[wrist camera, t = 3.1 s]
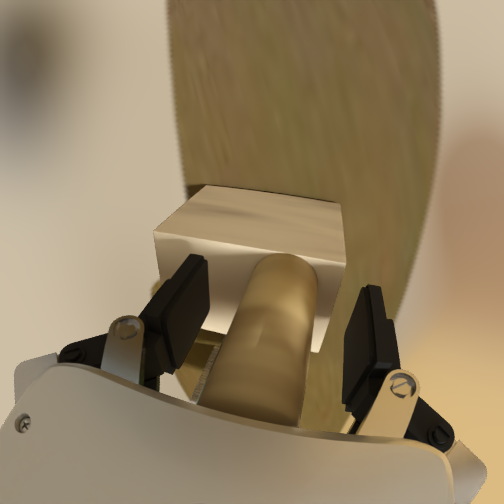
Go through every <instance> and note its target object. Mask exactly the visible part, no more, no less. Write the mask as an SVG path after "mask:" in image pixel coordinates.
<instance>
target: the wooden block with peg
mask: <svg viewBox="0 0 504 504" xmlns="http://www.w3.org/2000/svg"><path fill="white" fill-rule="evenodd" d="M153 233H154V241H155V248H156V255H157V261H158V268H159V274H160V280H161V285H163V283H164V282H165V281H166V280H167V279H171V277H172V276H173V275H174V273H175V272H176V271H177V270H178V268H179V267H180V266H181V264H182V263H183V262H184V261H185V259H186V258H187V257H188V256H189V254H191V253H192V254H197V255H203V256H204V259H206V260H207V261H208V275H209V294H210V310H209V313H208V315H207V317H206V319H205V321H204V323H203V325H202V327H201V328H202V329H206V330H210V331H214V332H218V333H222V334H226V337H225V339H224V342H223V344H222V346H221V349H220V351H219V353H218V356H217V358H216V360H215V363H214V365H213V368H212V370H211V372H210V375H209V377H208V379H207V382H206V384H205V386H204V389H203V391H202V393H201V396H200V398H199V400H198V403H197V405H199V406H202V407H206V408H209V409H213V410H216V411H220V412H224V413H228V414H232V415H236V416H240V417H244V418H248V419H253V420H257V421H262V422H267V423H272V424H277V425H283V426H289V427H295V428H299V424H300V418H301V413H302V407H303V400H304V394H305V388H306V381H307V374H308V367H309V360H310V352H311V351H312V352H319V350H320V347H321V344H322V341H323V338H324V335H325V332H326V329H327V326H328V323H329V320H330V317H331V314H332V311H333V307H334V304H335V301H336V298H337V294H338V291H339V287H340V284H341V280H342V277H343V273H344V270H345V266H346V254H345V243H344V233H343V223H342V214H341V206H340V204H338V203H332V202H326V201H320V200H314V199H308V198H302V197H295V196H289V195H282V194H275V193H267V192H260V191H252V190H244V189H236V188H227V187H218V186H209V185H206V186H205V187H204V188H202V189H201V190H200V191H199V192H198V193H196V194H195V195H194V196H193V197H192V198H190V199H189V200H188V201H187V202H186V203H184V204H183V205H182V206H181V207H180V208H179V209H177V210H176V211H175V212H174V213H173V214H172V215H171V216H169V217H168V218H167V219H166V220H165V221H164V222H163V223H161V224H160V225H159V226H158V227H157V228H156V229H155V230H154V231H153Z"/></svg>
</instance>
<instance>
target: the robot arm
mask: <svg viewBox="0 0 504 504" xmlns="http://www.w3.org/2000/svg"><path fill="white" fill-rule="evenodd" d="M209 310H210V294H209V275H208V261H207V260H206V259H204V256H203V255H197V254H192V253H191V254H189V256H188V257H187V258H186V259H185V261H184V262H183V263H182V264H181V266H180V267H179V268H178V270H177V271H176V272H175V273H174V275H173V276H172V277H171V279H167V280H166V281H165V282H164V283H163V285H162V286H161V287H160V288H159V290H158V291H157V292H156V294H155V295H154V296H153V298H152V299H151V300H150V302H149V303H148V304H147V306H146V307H145V308H144V310H143V311H142V312H141V313H140V315H139V316H138V317H136V316H132V315H126V316H122V317H119V318H117V319H116V320H114V321H113V322H112V324H111V325H110V327H109V331H108V333H106V334H103V335H99V336H96V337H92V338H89V339H85V340H81V341H78V342H74V343H71V344H69V345H67V346H65V347H64V348H63V349H62V350H61V352H60V354H59V355H57V353H52V354H48V355H45V356H42V357H38V358H34V359H30V360H27V361H24V362H21V363H20V364H19V365H18V366H17V367H16V369H15V373H14V387H15V406H14V408H13V409H12V411H11V412H10V414H9V416H8V417H7V419H6V420H5V422H4V424H3V425H2V427H1V429H0V504H470V503H471V502H472V500H473V499H474V497H475V496H476V494H477V493H478V491H479V490H480V488H481V487H482V485H483V484H484V482H485V479H486V477H487V469H486V466H485V465H484V463H483V462H482V461H481V460H480V459H478V457H477V456H475V455H474V454H473V453H472V452H471V451H470V450H469V449H468V448H467V447H466V446H465V445H464V444H463V443H462V442H461V441H460V440H458V441H456V440H455V439H454V438H455V436H454V431H453V429H452V427H451V425H450V424H449V423H448V422H447V421H446V420H445V419H443V418H442V417H441V416H440V415H439V414H438V413H437V412H436V411H434V410H433V409H432V408H431V407H430V406H429V405H428V404H427V403H426V402H425V401H424V400H423V399H421V398H420V397H419V392H420V384H419V381H418V380H417V378H416V377H415V376H414V375H413V374H412V373H410V372H409V371H406V370H403V369H401V367H400V359H399V353H398V346H397V340H396V334H395V328H394V323H393V320H392V319H387V318H386V312H385V307H384V301H383V296H382V291H381V287H380V286H375V285H369V284H368V285H367V286H366V288H365V287H362V288H361V291H360V294H359V296H358V299H357V302H356V305H355V308H354V310H353V313H352V316H351V318H350V321H349V324H348V326H347V329H346V331H345V335H344V363H343V388H342V404H346V407H345V411H346V412H352V416H353V417H354V418H355V420H354V422H353V424H352V425H351V427H350V429H349V431H348V432H347V434H343V433H332V432H323V431H315V430H308V429H301V428H295V427H289V426H283V425H277V424H272V423H267V422H262V421H257V420H253V419H248V418H244V417H240V416H236V415H232V414H228V413H224V412H220V411H216V410H213V409H209V408H206V407H202V406H199V405H196V404H193V403H189V402H186V401H183V400H180V399H177V398H174V397H171V396H168V395H165V394H163V393H160V392H159V388H160V387H159V386H160V375H162V374H164V372H166V373H169V374H172V375H173V373H174V371H175V369H180V367H181V366H182V364H183V362H184V360H185V358H186V356H187V354H188V352H189V350H190V348H191V346H192V344H193V342H194V340H195V338H196V337H197V335H198V333H199V331H200V329H201V327H202V325H203V323H204V321H205V319H206V317H207V315H208V313H209Z"/></svg>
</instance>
